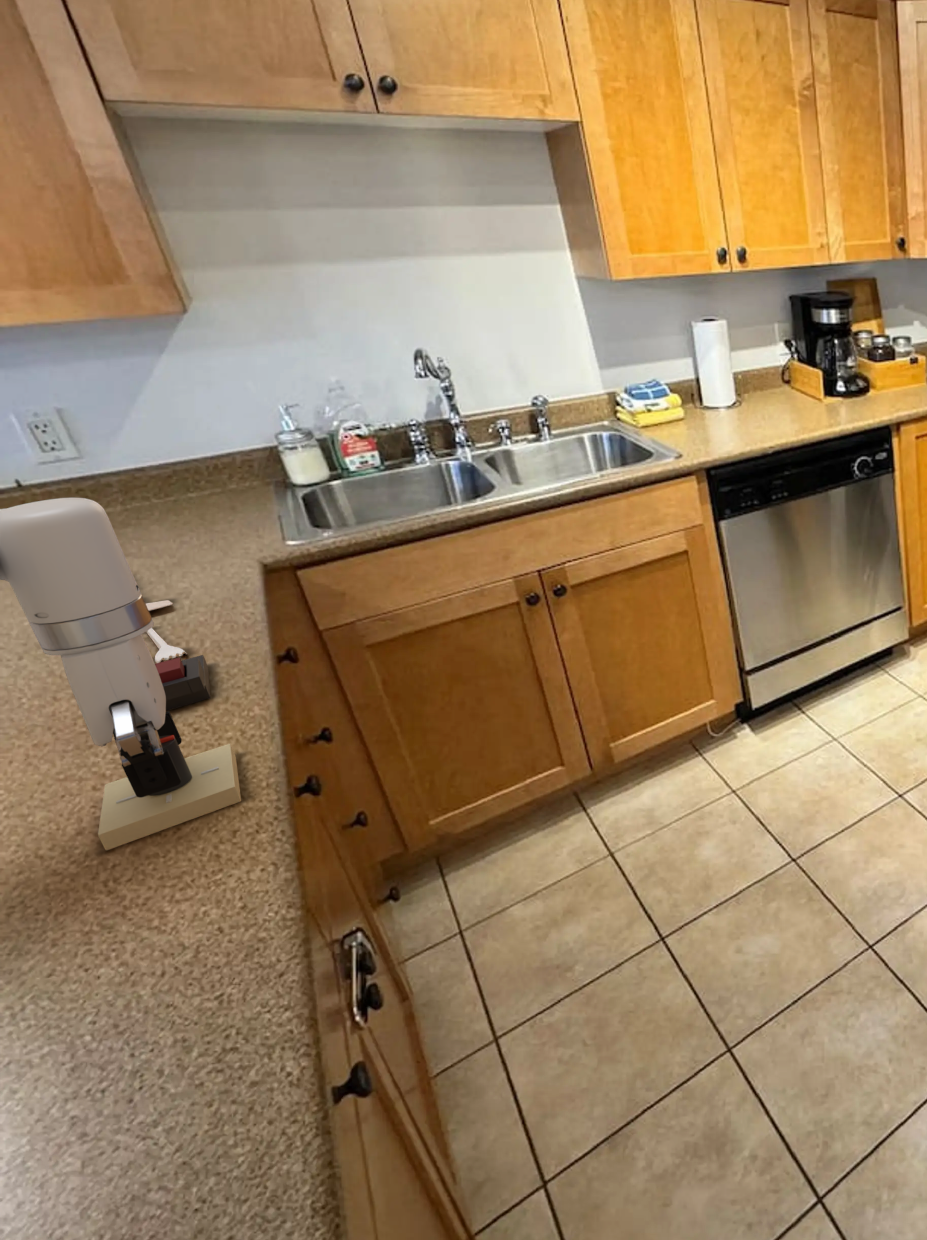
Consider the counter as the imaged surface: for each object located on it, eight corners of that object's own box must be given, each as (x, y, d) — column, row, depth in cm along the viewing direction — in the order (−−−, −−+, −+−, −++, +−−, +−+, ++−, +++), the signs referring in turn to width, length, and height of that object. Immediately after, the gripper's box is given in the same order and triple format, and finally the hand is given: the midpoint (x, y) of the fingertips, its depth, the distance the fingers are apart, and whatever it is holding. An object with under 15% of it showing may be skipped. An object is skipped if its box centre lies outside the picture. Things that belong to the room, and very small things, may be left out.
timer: (112, 799, 83) (104, 782, 82) (236, 757, 90) (229, 741, 89) (105, 851, 76) (96, 833, 75) (241, 801, 82) (234, 785, 81)
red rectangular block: (142, 680, 100) (137, 668, 99) (184, 668, 103) (179, 657, 102) (141, 691, 97) (135, 679, 97) (185, 679, 100) (180, 667, 99)
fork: (162, 626, 123) (158, 615, 122) (193, 661, 112) (188, 649, 111) (133, 634, 120) (129, 623, 120) (162, 670, 109) (157, 659, 109)
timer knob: (144, 800, 79) (124, 758, 78) (146, 784, 82) (126, 743, 80) (192, 784, 82) (173, 742, 80) (192, 769, 84) (174, 728, 82)
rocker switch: (138, 685, 106) (127, 660, 104) (208, 666, 110) (197, 642, 109) (135, 725, 96) (122, 697, 95) (211, 702, 101) (199, 676, 100)
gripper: (48, 609, 79) (115, 749, 85) (23, 669, 67) (103, 827, 73) (151, 587, 84) (208, 721, 89) (145, 639, 72) (211, 789, 78)
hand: (161, 768), depth 81 cm, fingers open, 9 cm apart
